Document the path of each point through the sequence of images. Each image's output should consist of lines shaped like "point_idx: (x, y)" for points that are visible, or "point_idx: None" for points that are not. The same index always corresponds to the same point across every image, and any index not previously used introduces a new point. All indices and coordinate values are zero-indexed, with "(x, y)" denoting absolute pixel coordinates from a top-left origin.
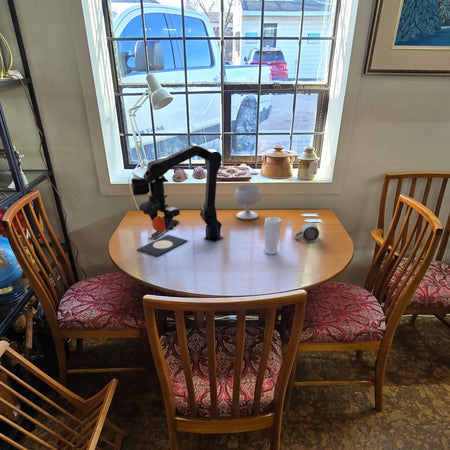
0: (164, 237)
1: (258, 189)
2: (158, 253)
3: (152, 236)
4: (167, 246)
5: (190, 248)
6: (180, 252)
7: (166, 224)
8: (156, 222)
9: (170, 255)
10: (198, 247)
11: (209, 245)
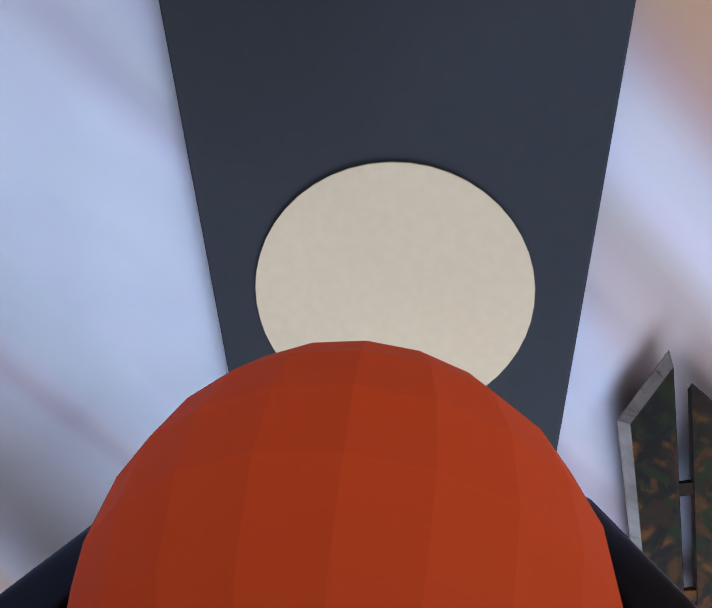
0: None
1: None
2: (201, 31)
3: (699, 408)
4: (289, 290)
5: (96, 403)
6: (77, 274)
7: (2, 605)
8: (207, 564)
9: (80, 132)
10: (65, 454)
11: (41, 523)
